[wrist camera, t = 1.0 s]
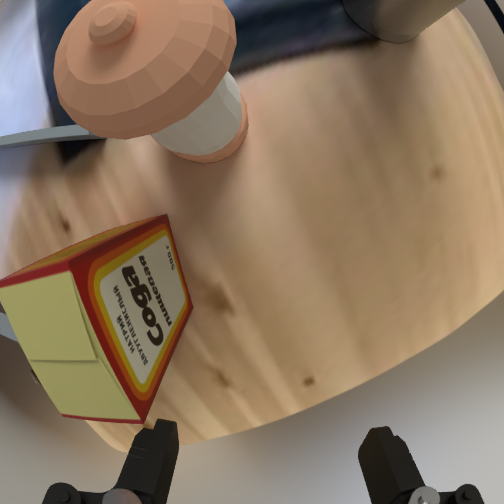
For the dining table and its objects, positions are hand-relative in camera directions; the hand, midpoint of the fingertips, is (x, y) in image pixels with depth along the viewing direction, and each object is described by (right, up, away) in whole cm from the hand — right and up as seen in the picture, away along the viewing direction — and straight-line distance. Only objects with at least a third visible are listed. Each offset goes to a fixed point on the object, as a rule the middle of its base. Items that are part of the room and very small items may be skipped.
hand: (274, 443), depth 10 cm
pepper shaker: (-5, +19, +14) cm, 24 cm away
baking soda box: (-11, +6, +18) cm, 21 cm away
